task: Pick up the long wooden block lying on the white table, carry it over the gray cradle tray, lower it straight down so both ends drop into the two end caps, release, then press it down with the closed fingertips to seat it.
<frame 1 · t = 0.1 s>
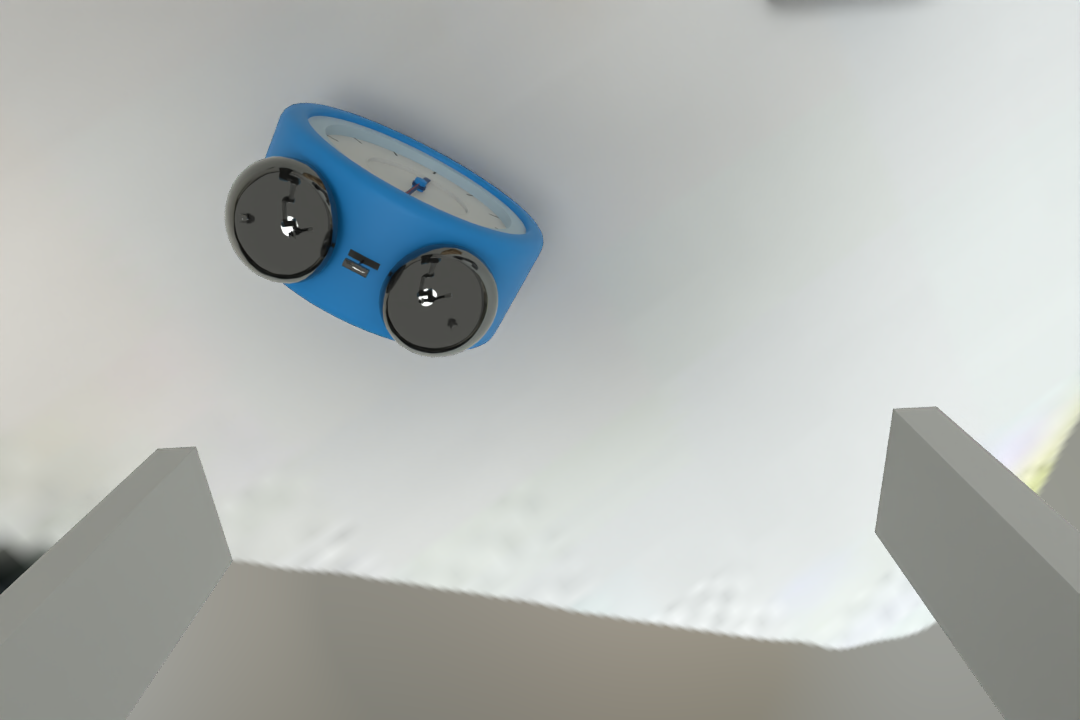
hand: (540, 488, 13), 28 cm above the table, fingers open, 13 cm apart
alarm clock: (425, 202, 39), on the table
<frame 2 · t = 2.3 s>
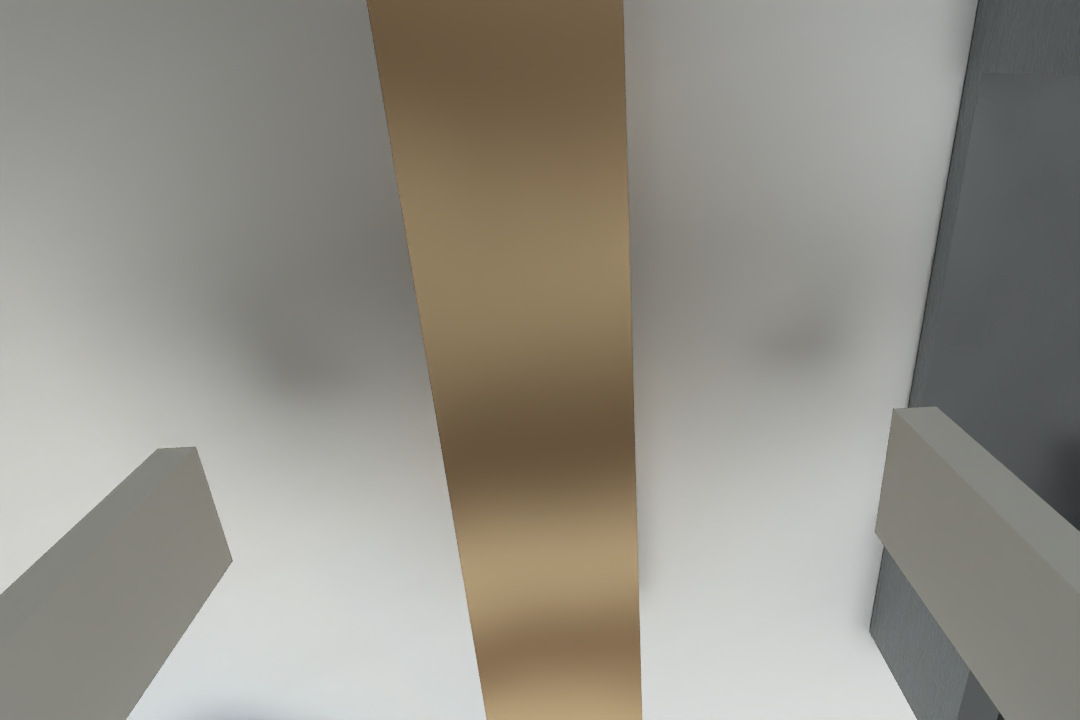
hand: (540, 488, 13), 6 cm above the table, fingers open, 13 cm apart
long wooden block: (542, 340, 18), on the table
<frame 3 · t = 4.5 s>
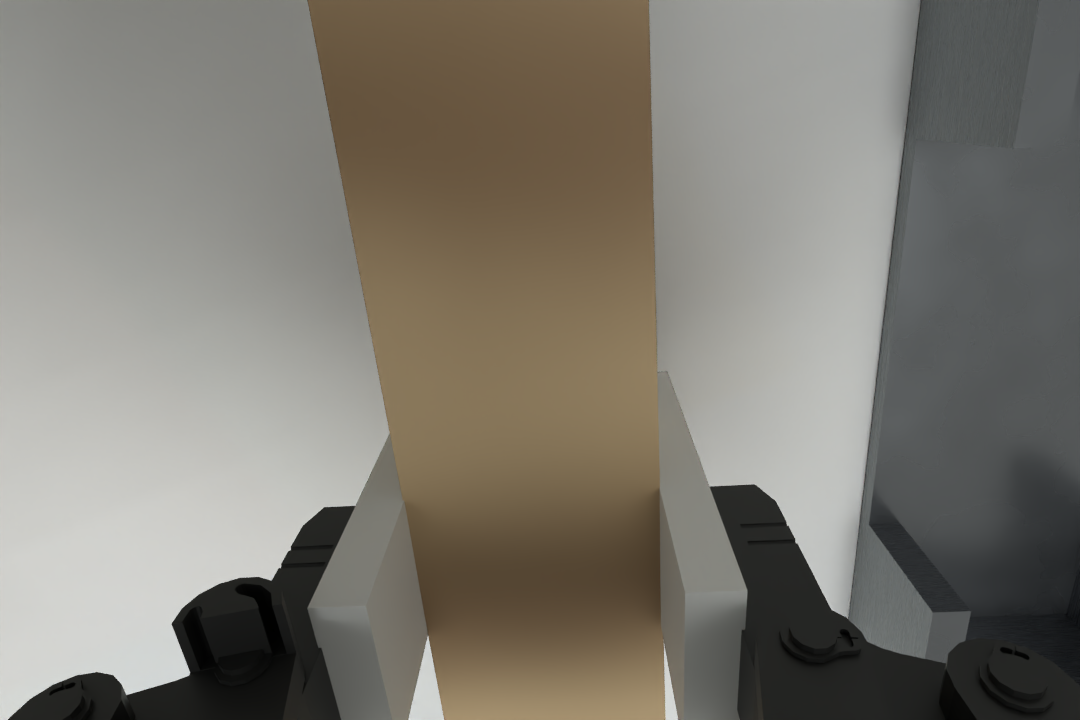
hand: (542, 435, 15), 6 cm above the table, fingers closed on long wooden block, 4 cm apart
long wooden block: (545, 437, 16), point 5 cm above the table, touching gripper
gray cradle tray: (1017, 338, 20), on the table
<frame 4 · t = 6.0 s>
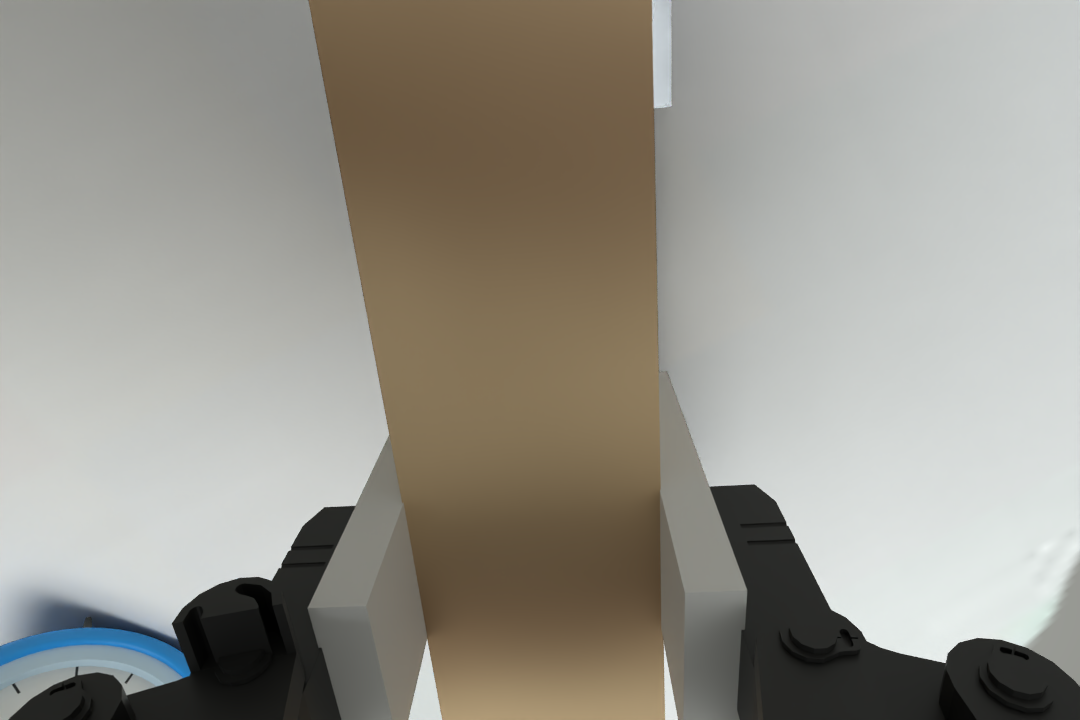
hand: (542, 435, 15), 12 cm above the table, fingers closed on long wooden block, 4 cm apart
alarm clock: (146, 666, 35), on the table
long wooden block: (545, 441, 15), point 12 cm above the table, touching gripper
gray cradle tray: (549, 273, 26), on the table
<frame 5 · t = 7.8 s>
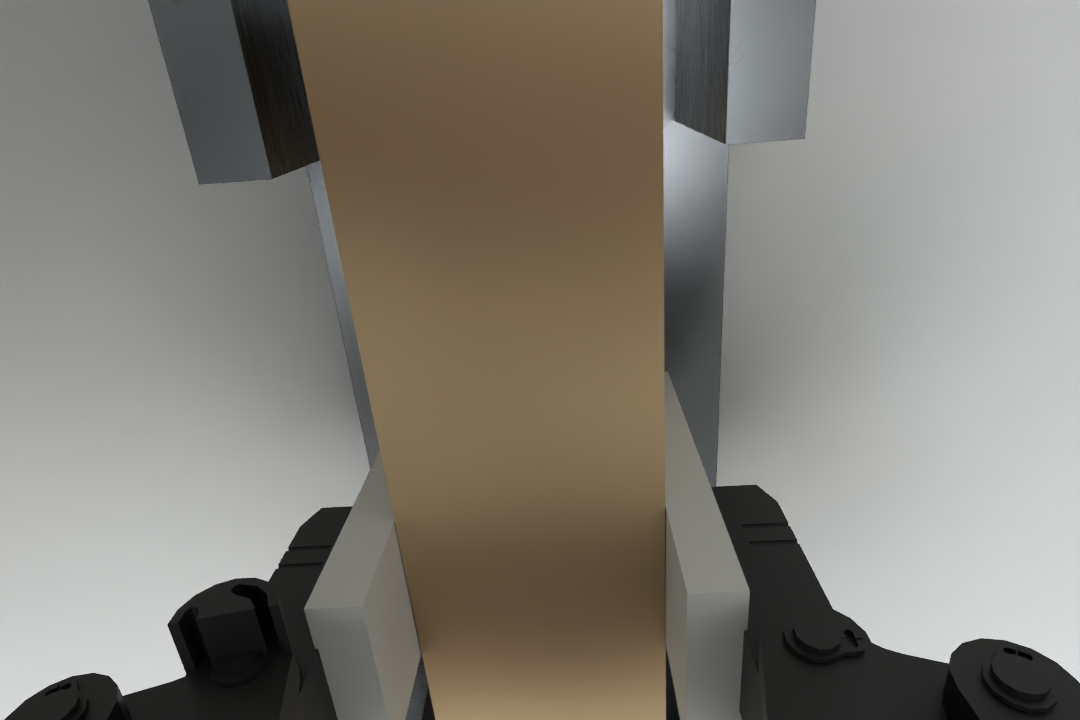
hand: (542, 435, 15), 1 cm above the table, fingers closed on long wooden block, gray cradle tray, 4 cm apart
long wooden block: (543, 444, 15), point 1 cm above the table, touching gripper, gray cradle tray
gray cradle tray: (538, 403, 15), on the table
when the fingers open (1 cm above the table, at t = 8.7 s): long wooden block stays where it is, resting on gray cradle tray.
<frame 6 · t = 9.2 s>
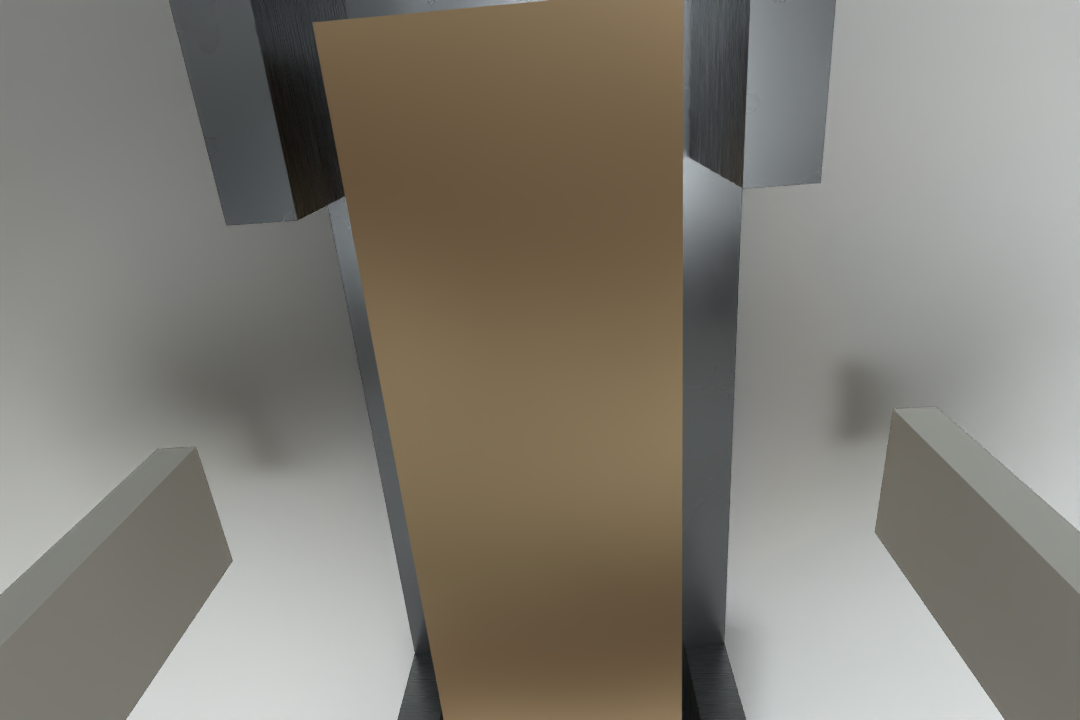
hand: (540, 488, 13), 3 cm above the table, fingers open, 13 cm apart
long wooden block: (557, 473, 15), point 1 cm above the table, touching gray cradle tray
gray cradle tray: (551, 432, 15), on the table
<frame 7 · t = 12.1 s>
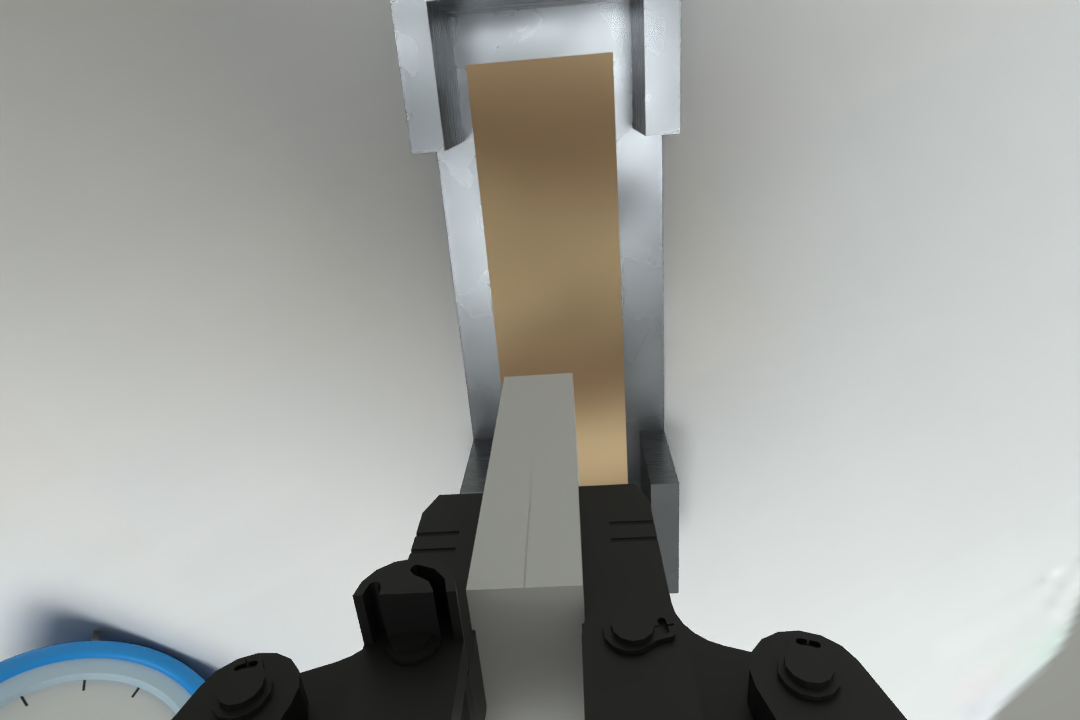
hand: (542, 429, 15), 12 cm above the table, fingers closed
alarm clock: (152, 680, 35), on the table
long wooden block: (562, 316, 26), point 1 cm above the table, touching gray cradle tray
gray cradle tray: (558, 294, 26), on the table
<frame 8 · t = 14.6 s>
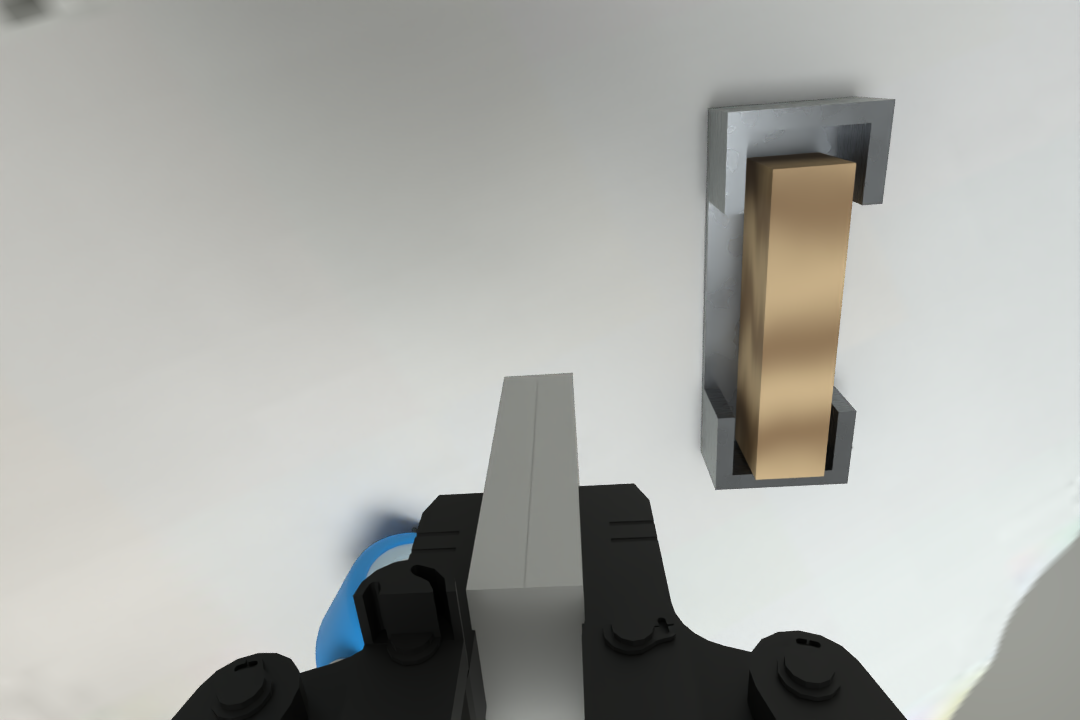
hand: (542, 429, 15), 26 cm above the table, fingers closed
alarm clock: (444, 565, 50), on the table
long wooden block: (773, 307, 40), point 1 cm above the table, touching gray cradle tray
gray cradle tray: (769, 293, 41), on the table
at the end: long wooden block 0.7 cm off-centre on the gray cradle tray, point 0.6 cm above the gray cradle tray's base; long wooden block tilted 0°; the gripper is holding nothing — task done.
